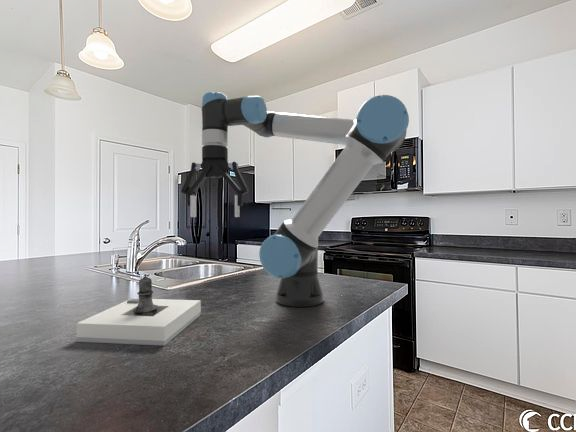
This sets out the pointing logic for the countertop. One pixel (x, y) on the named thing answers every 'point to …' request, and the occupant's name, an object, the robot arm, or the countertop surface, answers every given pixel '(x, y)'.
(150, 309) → the dark gray chess piece
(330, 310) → the countertop surface
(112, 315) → the socket plate
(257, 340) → the countertop surface
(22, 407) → the countertop surface
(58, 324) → the countertop surface
